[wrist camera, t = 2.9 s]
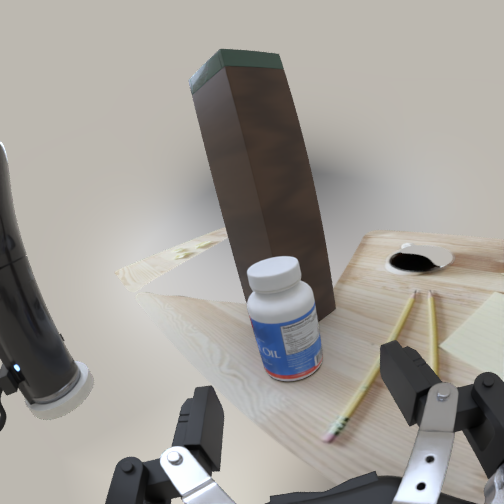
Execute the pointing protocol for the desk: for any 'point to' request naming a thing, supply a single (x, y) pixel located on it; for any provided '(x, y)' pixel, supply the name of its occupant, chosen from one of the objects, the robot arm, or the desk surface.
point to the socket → (233, 64)
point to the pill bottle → (284, 319)
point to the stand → (263, 175)
